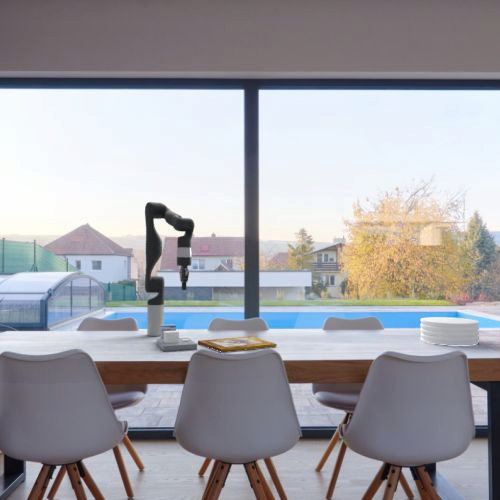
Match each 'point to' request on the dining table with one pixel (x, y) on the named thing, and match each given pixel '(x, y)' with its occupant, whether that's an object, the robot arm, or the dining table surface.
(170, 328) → the medicine box
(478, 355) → the dining table surface
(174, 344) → the socket panel
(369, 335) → the dining table surface
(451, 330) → the plate stack
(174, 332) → the plug
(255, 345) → the picture frame
